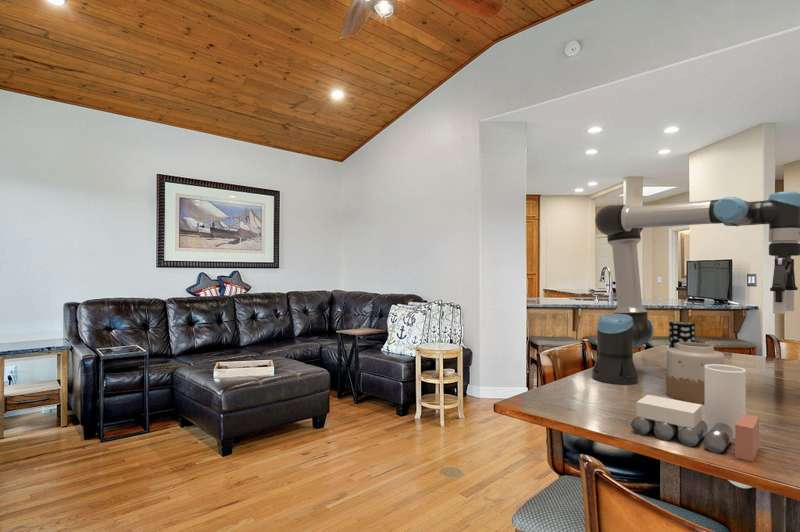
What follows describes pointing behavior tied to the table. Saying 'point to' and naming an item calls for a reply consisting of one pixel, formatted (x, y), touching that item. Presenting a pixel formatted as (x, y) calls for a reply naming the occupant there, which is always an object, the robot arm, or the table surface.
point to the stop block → (747, 437)
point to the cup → (724, 395)
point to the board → (669, 411)
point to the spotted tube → (681, 333)
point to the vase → (689, 370)
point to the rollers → (687, 433)
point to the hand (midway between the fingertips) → (783, 312)
